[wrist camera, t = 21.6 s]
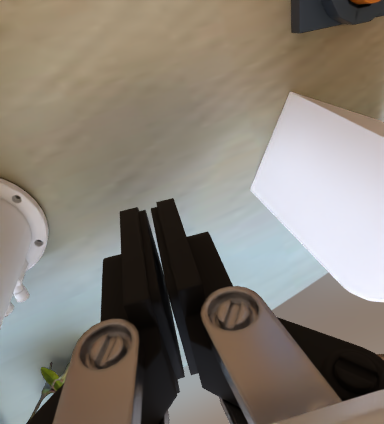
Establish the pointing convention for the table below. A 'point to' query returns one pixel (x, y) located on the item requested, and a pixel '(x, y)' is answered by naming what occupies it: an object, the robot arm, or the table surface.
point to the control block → (331, 13)
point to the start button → (364, 1)
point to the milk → (329, 189)
